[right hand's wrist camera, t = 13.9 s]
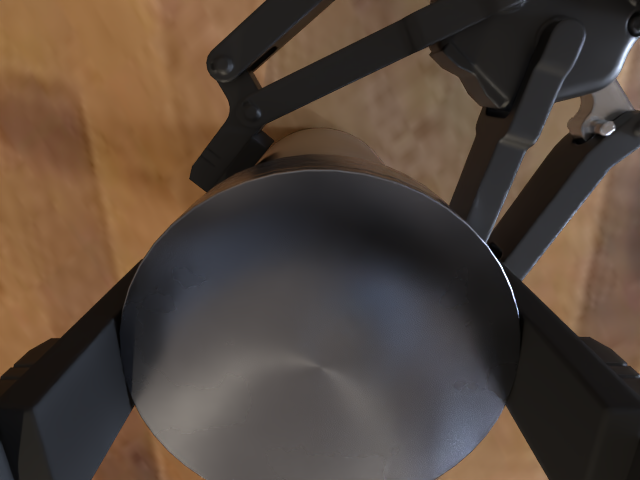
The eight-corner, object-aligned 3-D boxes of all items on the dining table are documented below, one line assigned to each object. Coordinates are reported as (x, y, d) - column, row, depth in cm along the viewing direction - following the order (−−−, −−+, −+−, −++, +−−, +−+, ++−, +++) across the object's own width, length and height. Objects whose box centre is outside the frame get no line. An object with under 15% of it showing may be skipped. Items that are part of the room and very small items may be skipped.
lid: (455, 457, 14) (478, 518, 12) (162, 441, 14) (135, 501, 12) (523, 166, 11) (569, 184, 9) (139, 140, 11) (97, 153, 9)
